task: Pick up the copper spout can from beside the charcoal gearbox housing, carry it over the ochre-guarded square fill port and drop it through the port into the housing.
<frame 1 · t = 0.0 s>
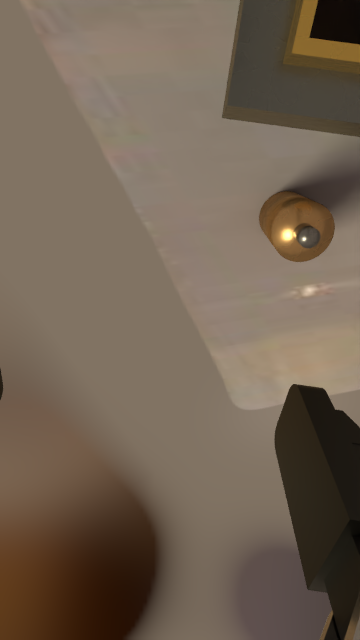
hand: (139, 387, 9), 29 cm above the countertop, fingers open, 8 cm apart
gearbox: (325, 33, 28), on the countertop
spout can: (283, 216, 34), on the countertop
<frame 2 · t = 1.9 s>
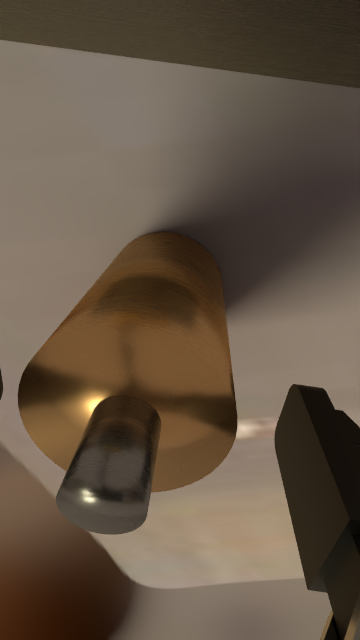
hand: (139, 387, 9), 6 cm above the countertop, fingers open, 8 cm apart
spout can: (165, 288, 15), on the countertop
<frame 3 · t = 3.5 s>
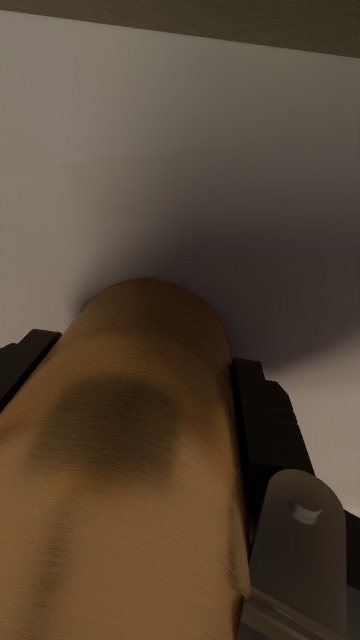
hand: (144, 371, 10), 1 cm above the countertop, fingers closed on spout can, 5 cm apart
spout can: (150, 352, 11), on the countertop, touching gripper
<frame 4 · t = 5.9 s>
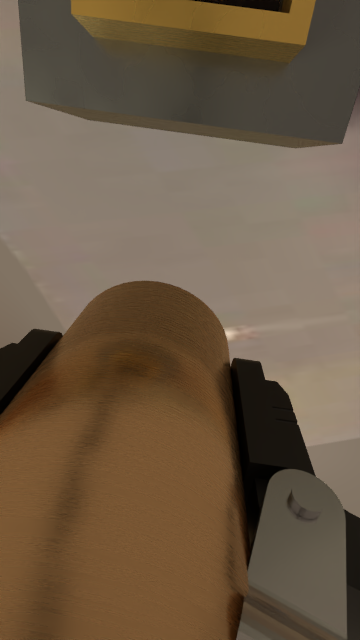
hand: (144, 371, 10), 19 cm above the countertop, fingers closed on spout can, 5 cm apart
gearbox: (206, 4, 20), on the countertop
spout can: (150, 354, 11), point 18 cm above the countertop, touching gripper
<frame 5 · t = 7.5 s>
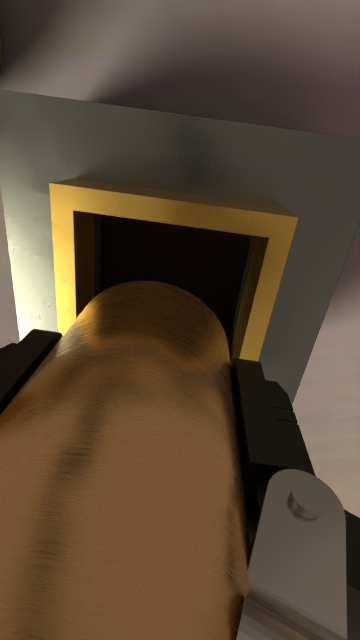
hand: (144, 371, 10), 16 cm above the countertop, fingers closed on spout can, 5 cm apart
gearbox: (181, 242, 23), on the countertop
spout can: (150, 354, 10), point 15 cm above the countertop, touching gripper
when the fingers open (14 cm above the countertop, at t = 8.6 s): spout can drops 13 cm, resting in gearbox.
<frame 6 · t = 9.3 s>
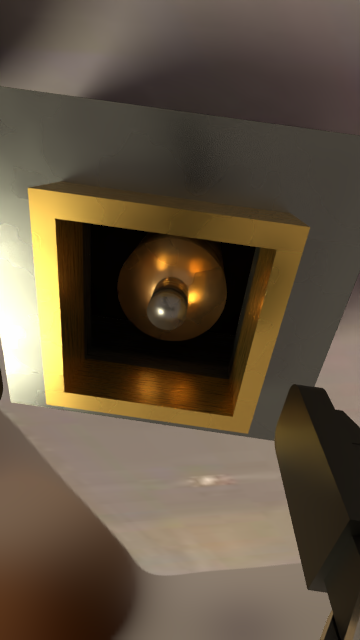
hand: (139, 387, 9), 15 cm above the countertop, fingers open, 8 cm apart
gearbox: (179, 248, 22), on the countertop
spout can: (183, 248, 22), resting in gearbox
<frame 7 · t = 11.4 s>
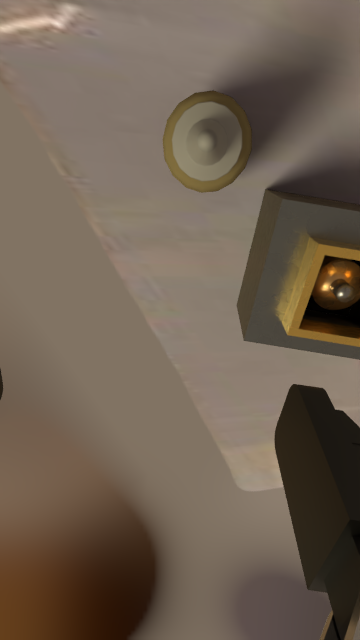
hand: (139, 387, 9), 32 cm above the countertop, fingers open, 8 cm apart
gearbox: (312, 262, 39), on the countertop
squeeze bottle: (206, 148, 34), on the countertop
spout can: (314, 262, 39), resting in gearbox
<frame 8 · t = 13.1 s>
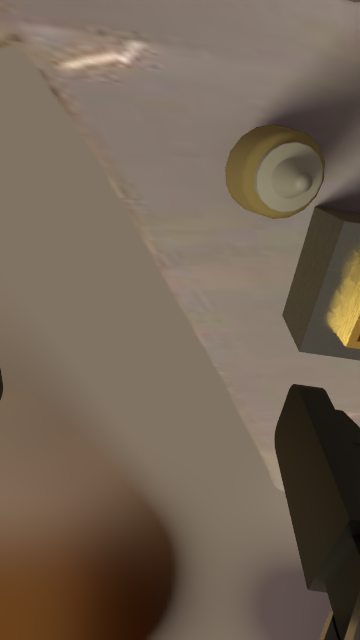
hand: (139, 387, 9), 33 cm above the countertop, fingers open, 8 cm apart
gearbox: (357, 273, 40), on the countertop
squeeze bottle: (259, 169, 36), on the countertop
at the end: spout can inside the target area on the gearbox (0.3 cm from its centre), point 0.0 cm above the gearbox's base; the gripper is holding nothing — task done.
